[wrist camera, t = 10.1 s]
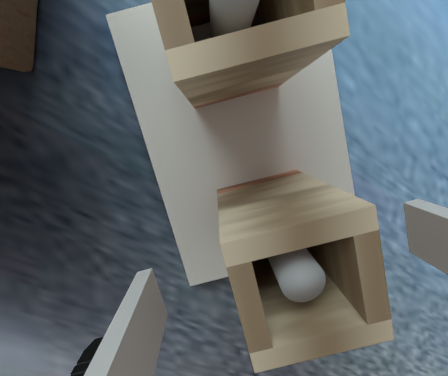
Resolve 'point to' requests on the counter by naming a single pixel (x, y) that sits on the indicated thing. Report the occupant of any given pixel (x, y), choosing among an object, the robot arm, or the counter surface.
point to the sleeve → (323, 254)
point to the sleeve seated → (247, 46)
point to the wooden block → (17, 34)
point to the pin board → (230, 139)
